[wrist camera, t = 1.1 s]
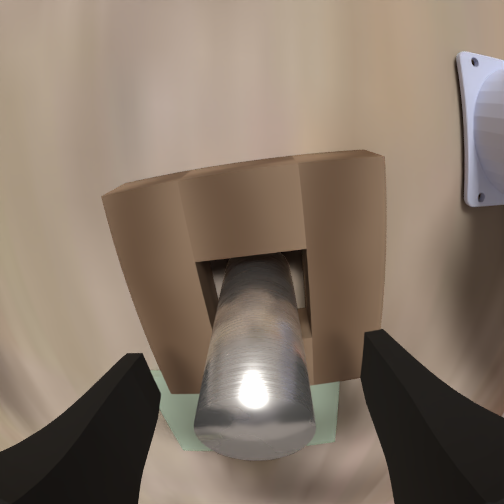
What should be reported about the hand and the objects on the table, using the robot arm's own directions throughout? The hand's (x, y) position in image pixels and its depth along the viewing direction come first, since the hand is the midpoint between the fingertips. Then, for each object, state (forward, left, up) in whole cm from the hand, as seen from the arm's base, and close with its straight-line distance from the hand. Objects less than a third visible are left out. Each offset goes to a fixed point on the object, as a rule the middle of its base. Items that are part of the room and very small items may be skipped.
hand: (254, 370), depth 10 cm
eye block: (0, 0, -6) cm, 6 cm away
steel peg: (0, 0, -7) cm, 7 cm away
